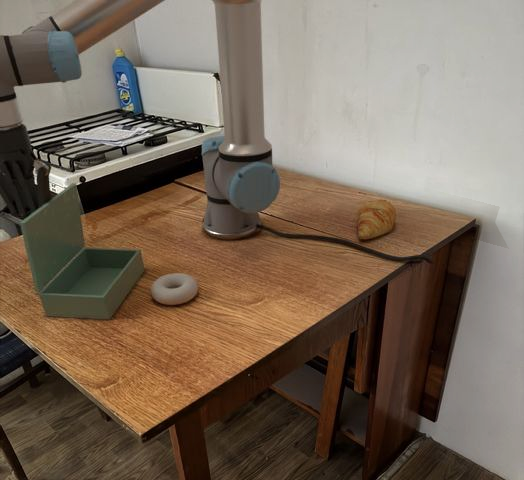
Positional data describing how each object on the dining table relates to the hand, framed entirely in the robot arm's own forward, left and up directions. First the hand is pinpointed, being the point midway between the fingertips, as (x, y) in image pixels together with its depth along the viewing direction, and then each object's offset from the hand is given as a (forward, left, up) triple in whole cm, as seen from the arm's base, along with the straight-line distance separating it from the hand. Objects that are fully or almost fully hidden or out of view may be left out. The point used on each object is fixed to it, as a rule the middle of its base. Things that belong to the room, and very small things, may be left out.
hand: (43, 246), depth 104 cm
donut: (-27, 0, -10) cm, 29 cm away
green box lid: (-4, 0, +3) cm, 5 cm away
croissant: (-69, -38, -11) cm, 80 cm away
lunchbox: (-10, 0, -10) cm, 14 cm away
